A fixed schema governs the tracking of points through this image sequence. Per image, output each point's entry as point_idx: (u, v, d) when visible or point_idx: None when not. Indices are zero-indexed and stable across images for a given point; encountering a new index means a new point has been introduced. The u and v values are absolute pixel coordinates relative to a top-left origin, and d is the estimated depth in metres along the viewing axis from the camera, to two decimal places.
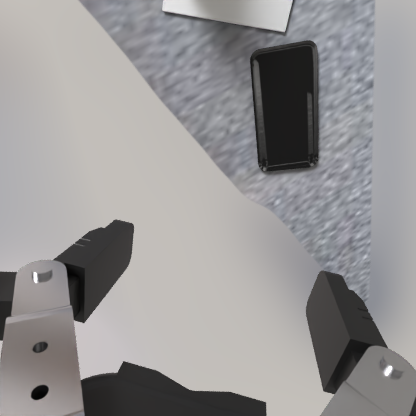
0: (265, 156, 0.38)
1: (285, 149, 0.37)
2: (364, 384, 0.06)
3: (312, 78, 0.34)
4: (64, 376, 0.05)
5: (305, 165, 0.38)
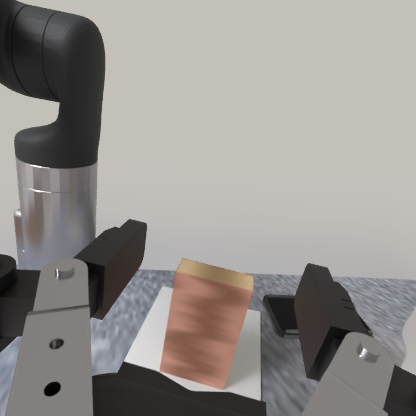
0: None
1: None
2: (344, 370, 0.07)
3: (286, 298, 0.45)
4: (76, 375, 0.05)
5: None
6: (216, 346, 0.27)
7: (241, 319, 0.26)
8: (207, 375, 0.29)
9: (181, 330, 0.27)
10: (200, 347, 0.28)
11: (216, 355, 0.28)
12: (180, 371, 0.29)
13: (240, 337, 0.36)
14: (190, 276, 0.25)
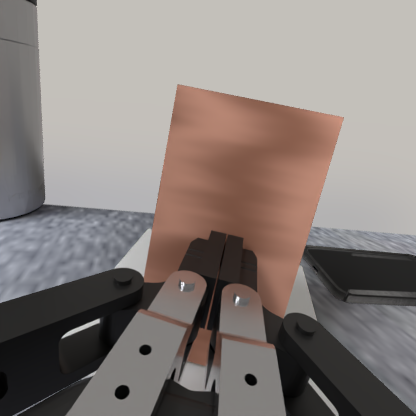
0: None
1: None
2: (231, 324, 0.07)
3: (336, 251, 0.30)
4: (145, 391, 0.05)
5: None
6: None
7: (314, 193, 0.12)
8: None
9: (182, 235, 0.13)
10: None
11: None
12: None
13: None
14: (208, 92, 0.12)
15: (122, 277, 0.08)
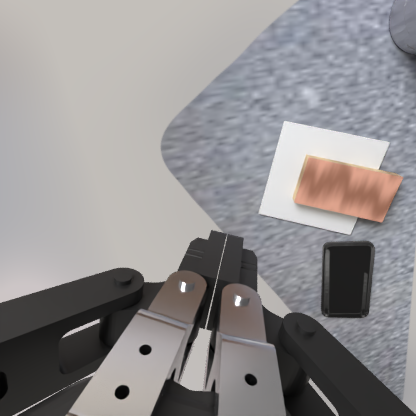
0: (328, 307, 0.51)
1: (343, 305, 0.50)
2: (231, 324, 0.07)
3: (369, 264, 0.46)
4: (145, 391, 0.05)
5: (358, 316, 0.50)
6: (336, 199, 0.41)
7: (360, 215, 0.42)
8: (308, 192, 0.42)
9: (351, 177, 0.40)
10: (335, 189, 0.41)
11: (328, 199, 0.41)
12: (310, 173, 0.41)
13: (320, 212, 0.45)
14: (398, 186, 0.39)
15: (122, 277, 0.08)
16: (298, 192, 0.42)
